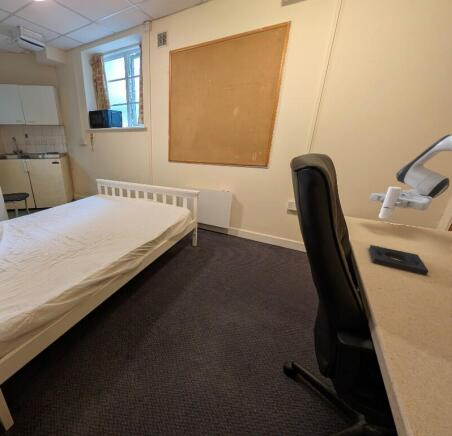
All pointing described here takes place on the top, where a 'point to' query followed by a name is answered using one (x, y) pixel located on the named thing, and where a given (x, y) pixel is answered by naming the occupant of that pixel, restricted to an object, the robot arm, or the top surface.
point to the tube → (390, 202)
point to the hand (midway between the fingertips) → (389, 202)
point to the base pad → (408, 260)
